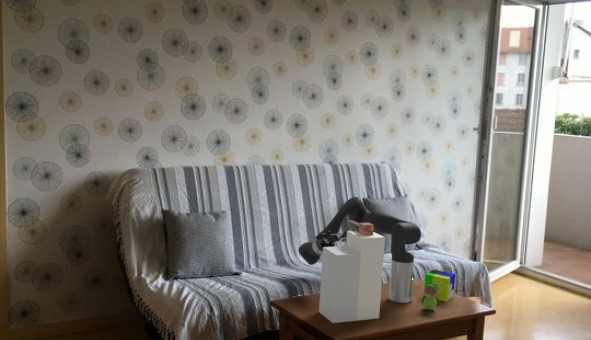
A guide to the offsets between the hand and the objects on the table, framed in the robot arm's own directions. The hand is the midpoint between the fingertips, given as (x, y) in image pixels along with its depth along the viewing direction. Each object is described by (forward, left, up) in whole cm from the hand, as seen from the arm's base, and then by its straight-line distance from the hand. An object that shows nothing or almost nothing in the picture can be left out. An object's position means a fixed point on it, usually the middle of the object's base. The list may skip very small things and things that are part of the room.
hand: (339, 232), depth 260 cm
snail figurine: (-31, +25, -27) cm, 49 cm away
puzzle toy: (-45, +11, -28) cm, 54 cm away
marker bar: (0, +16, +5) cm, 17 cm away
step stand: (+5, +22, -27) cm, 35 cm away
